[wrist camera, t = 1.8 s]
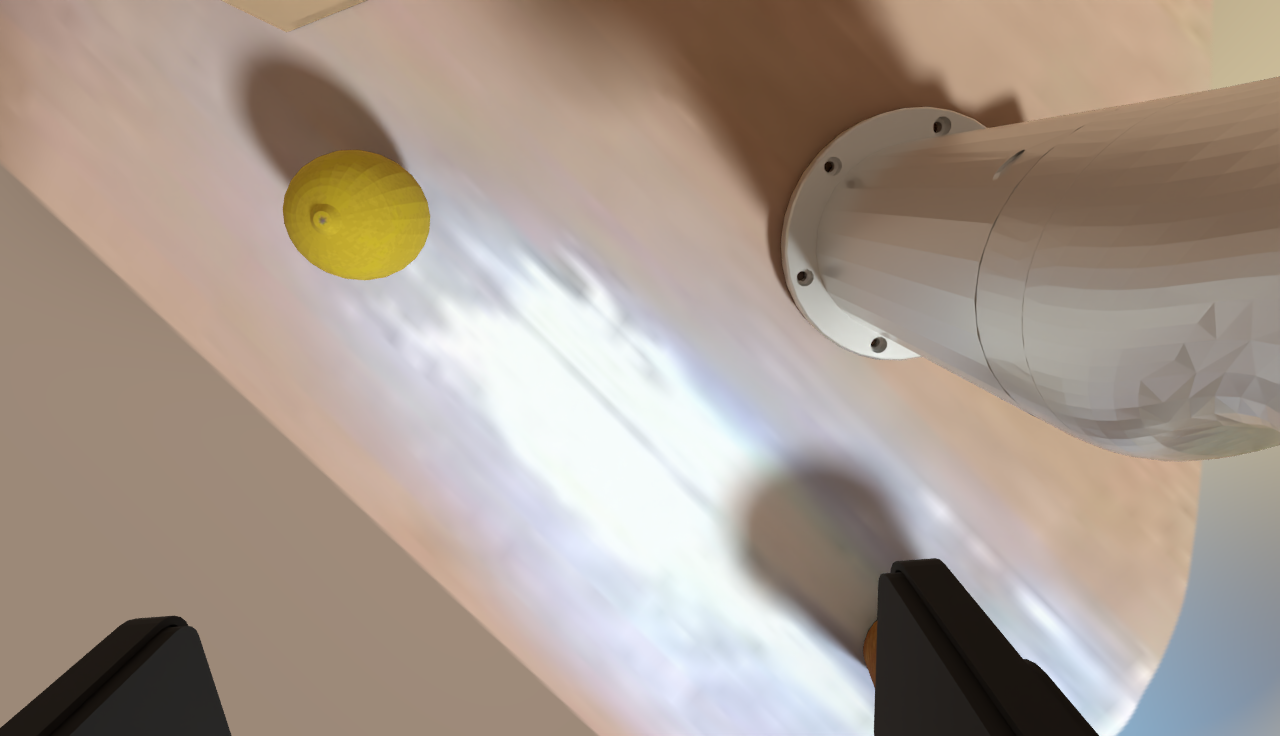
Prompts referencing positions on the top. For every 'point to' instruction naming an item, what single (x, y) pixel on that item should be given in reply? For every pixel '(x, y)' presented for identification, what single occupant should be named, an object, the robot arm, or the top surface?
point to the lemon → (356, 214)
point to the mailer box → (291, 10)
